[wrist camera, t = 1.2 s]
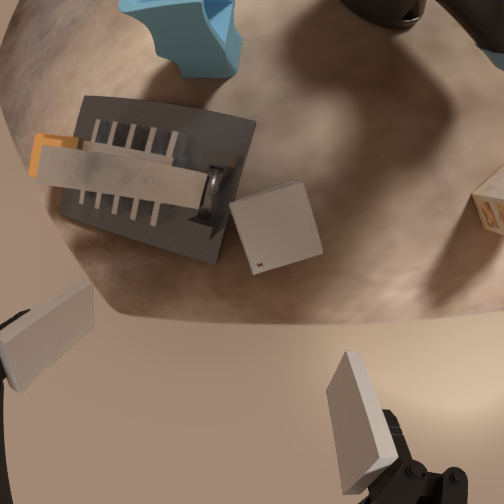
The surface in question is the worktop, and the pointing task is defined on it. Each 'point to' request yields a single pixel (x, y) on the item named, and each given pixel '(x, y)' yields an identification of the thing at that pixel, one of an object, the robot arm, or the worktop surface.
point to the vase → (191, 34)
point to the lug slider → (51, 141)
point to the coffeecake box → (491, 202)
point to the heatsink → (165, 152)
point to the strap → (129, 178)
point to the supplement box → (276, 227)
